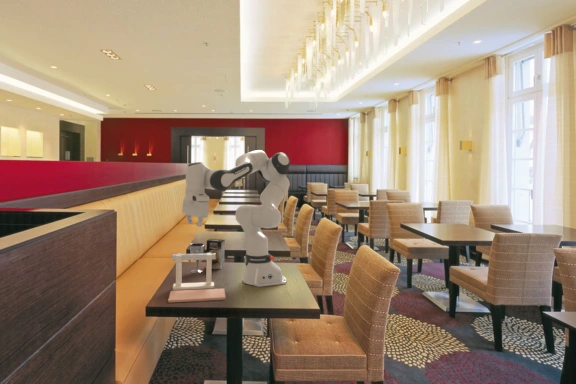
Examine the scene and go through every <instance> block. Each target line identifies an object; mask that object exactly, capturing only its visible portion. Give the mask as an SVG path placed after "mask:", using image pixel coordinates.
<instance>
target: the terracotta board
mask: <svg viewBox="0 0 576 384" xmlns="http://www.w3.org/2000/svg"><path fill="white" fill-rule="evenodd" d="M226 299H227V298H226V291H225V288H223V287H222V288H208V289H186V290H170V293H169V296H168V299H167V302H168V303H169V304H170V303H183V302H186V303H189V302H203V301H204V302H205V301H206V302H207V301H224V300H226Z"/></svg>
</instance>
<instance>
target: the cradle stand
mask: <svg viewBox="0 0 576 384" xmlns="http://www.w3.org/2000/svg"><path fill="white" fill-rule="evenodd" d="M177 254H183V253H177ZM182 262H183V260H181V255H177V256H176V260H175V283H173V284H172V291H179V290H201V289H215V282H214V281H212V255H207V264H206V263H205V268H206V270H205V272H206V273H205V274H206V277H205V280H206V281H205V282H204V281H203V282H201V281H200V282H199V281H198V282H182V281H183V280H182V277H183V276H182V269H183V268H182V266H183V265H182Z"/></svg>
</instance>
